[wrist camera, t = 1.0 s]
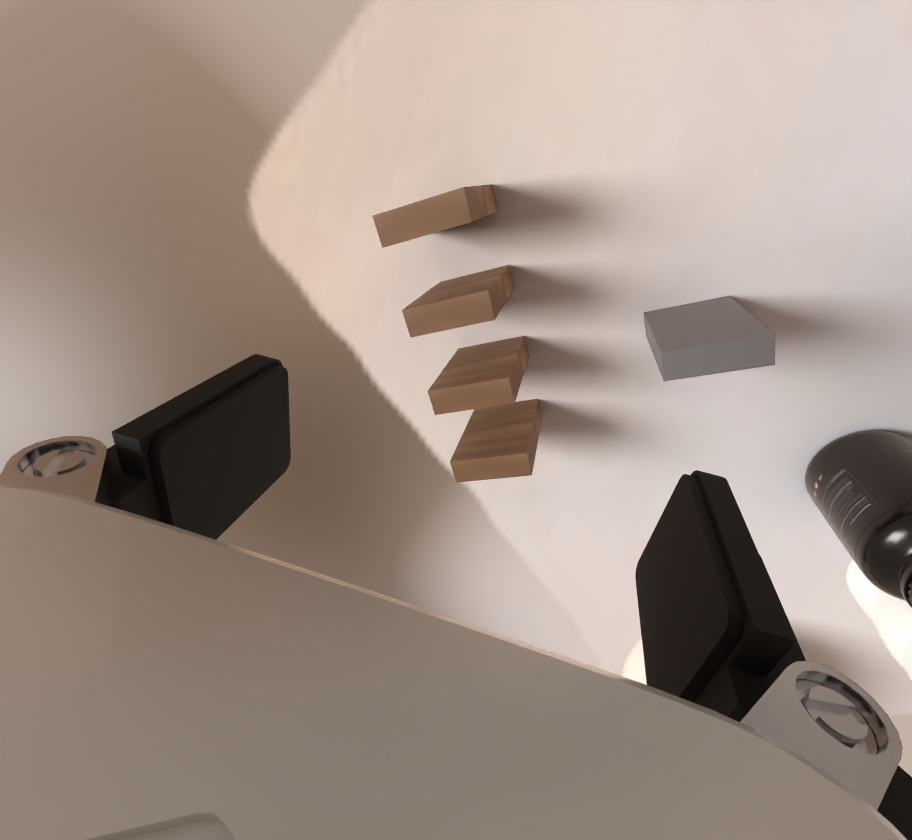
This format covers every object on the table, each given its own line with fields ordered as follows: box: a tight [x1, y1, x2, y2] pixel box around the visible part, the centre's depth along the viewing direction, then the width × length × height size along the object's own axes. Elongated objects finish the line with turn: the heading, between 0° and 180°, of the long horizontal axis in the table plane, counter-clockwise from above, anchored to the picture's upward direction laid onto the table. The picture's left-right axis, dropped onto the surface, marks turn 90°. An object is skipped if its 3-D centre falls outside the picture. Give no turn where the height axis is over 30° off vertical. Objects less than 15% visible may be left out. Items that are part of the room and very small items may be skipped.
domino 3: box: [428, 336, 529, 415], centre depth 31 cm, size 2×5×8 cm, turn 105°
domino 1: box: [373, 185, 497, 248], centre depth 27 cm, size 2×5×8 cm, turn 106°
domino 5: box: [644, 296, 775, 381], centre depth 27 cm, size 2×5×8 cm, turn 106°
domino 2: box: [402, 265, 514, 337], centre depth 29 cm, size 2×5×8 cm, turn 106°
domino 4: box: [450, 399, 542, 482], centre depth 33 cm, size 2×5×8 cm, turn 106°
